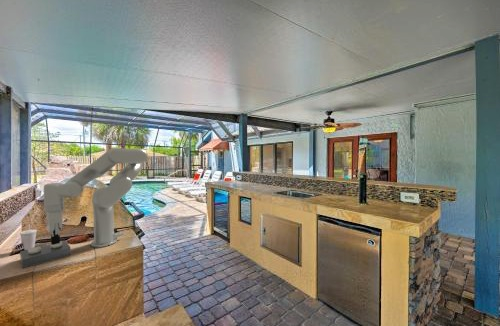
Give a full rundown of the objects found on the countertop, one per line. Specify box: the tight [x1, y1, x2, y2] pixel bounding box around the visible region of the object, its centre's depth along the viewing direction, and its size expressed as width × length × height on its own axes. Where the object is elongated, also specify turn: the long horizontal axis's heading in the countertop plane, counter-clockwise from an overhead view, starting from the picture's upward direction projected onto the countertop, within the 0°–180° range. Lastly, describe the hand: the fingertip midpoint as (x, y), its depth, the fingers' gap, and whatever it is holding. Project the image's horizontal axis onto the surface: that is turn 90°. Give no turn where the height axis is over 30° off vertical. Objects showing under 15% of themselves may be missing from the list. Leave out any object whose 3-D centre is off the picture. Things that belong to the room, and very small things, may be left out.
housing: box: [19, 240, 72, 269], centre depth 109 cm, size 17×12×4 cm
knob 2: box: [50, 241, 62, 248], centre depth 112 cm, size 4×4×5 cm
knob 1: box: [28, 246, 41, 254], centre depth 106 cm, size 4×4×5 cm
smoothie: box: [19, 223, 38, 251], centre depth 117 cm, size 6×6×14 cm
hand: (55, 243), depth 112 cm, fingers closed
